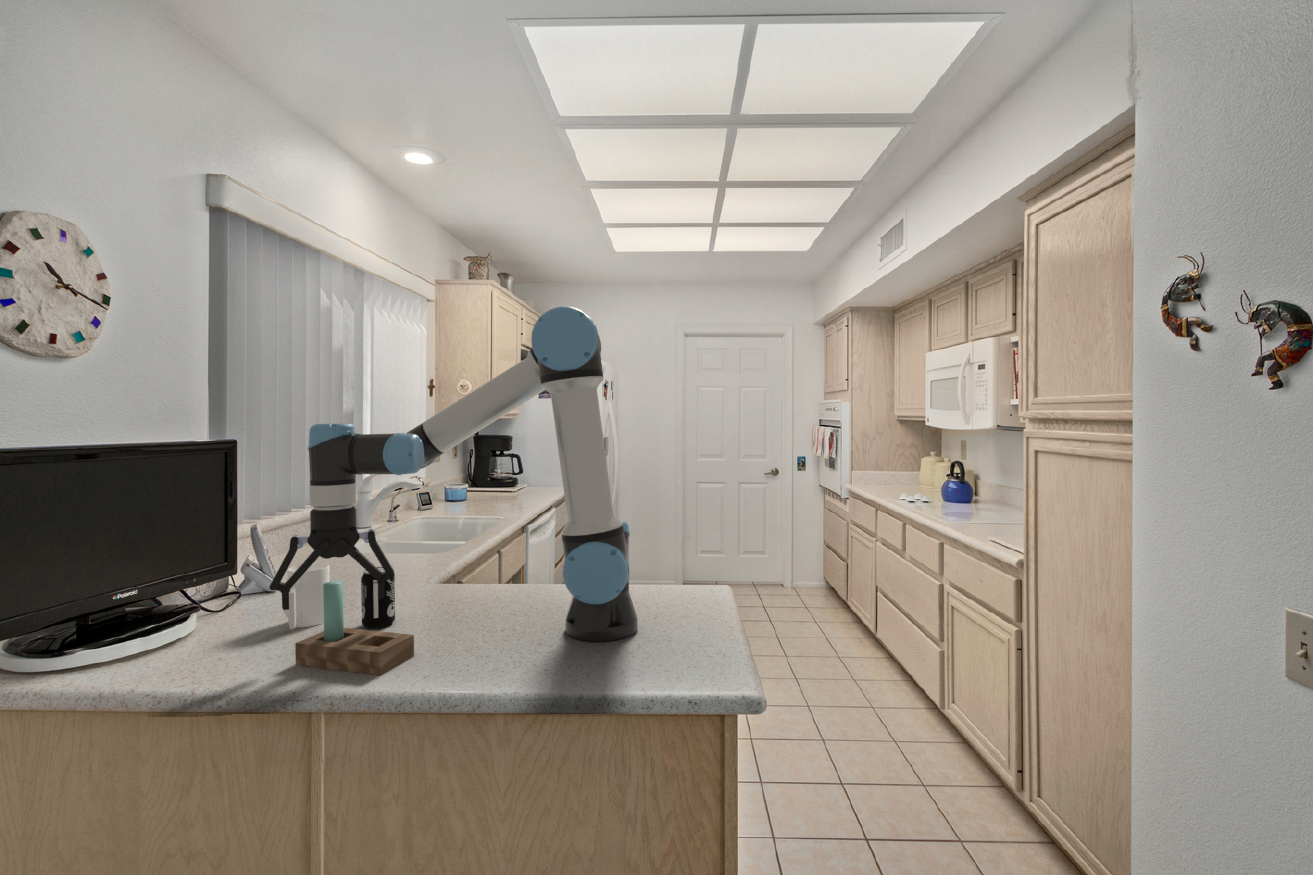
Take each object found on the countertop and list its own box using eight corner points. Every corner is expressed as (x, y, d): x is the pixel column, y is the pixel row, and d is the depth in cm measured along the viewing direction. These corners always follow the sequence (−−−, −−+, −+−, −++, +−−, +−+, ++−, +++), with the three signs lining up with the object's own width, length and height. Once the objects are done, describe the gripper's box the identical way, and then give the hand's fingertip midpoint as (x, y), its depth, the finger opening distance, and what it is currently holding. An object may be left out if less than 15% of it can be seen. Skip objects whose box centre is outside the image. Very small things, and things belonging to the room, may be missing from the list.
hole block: (414, 655, 113) (413, 634, 112) (380, 675, 104) (380, 652, 104) (334, 647, 117) (334, 626, 117) (295, 665, 108) (295, 643, 108)
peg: (348, 655, 113) (346, 581, 112) (334, 662, 110) (333, 585, 109) (334, 654, 114) (332, 580, 113) (320, 660, 111) (319, 584, 110)
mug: (265, 633, 125) (264, 576, 125) (302, 615, 137) (301, 563, 137) (304, 634, 125) (303, 576, 124) (337, 616, 137) (336, 563, 136)
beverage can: (382, 630, 127) (381, 573, 126) (354, 628, 128) (354, 572, 128) (401, 620, 133) (400, 566, 133) (375, 618, 134) (374, 565, 134)
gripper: (405, 500, 120) (407, 606, 120) (256, 508, 109) (259, 625, 110) (407, 505, 113) (409, 617, 113) (249, 514, 102) (251, 638, 103)
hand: (335, 621), depth 112 cm, fingers open, 13 cm apart
